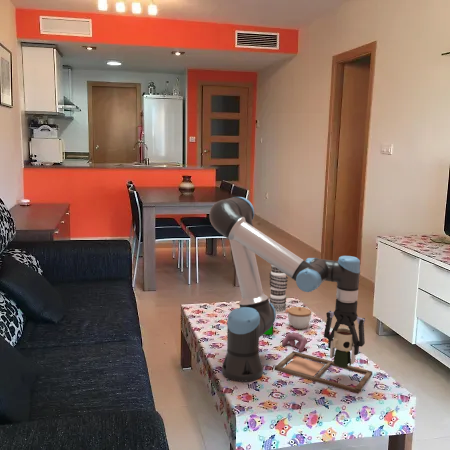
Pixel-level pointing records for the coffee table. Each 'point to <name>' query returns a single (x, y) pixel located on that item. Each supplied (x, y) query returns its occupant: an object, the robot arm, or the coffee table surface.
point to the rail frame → (311, 368)
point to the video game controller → (291, 339)
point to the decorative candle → (278, 289)
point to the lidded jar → (299, 317)
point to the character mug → (342, 347)
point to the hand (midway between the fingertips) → (342, 359)
